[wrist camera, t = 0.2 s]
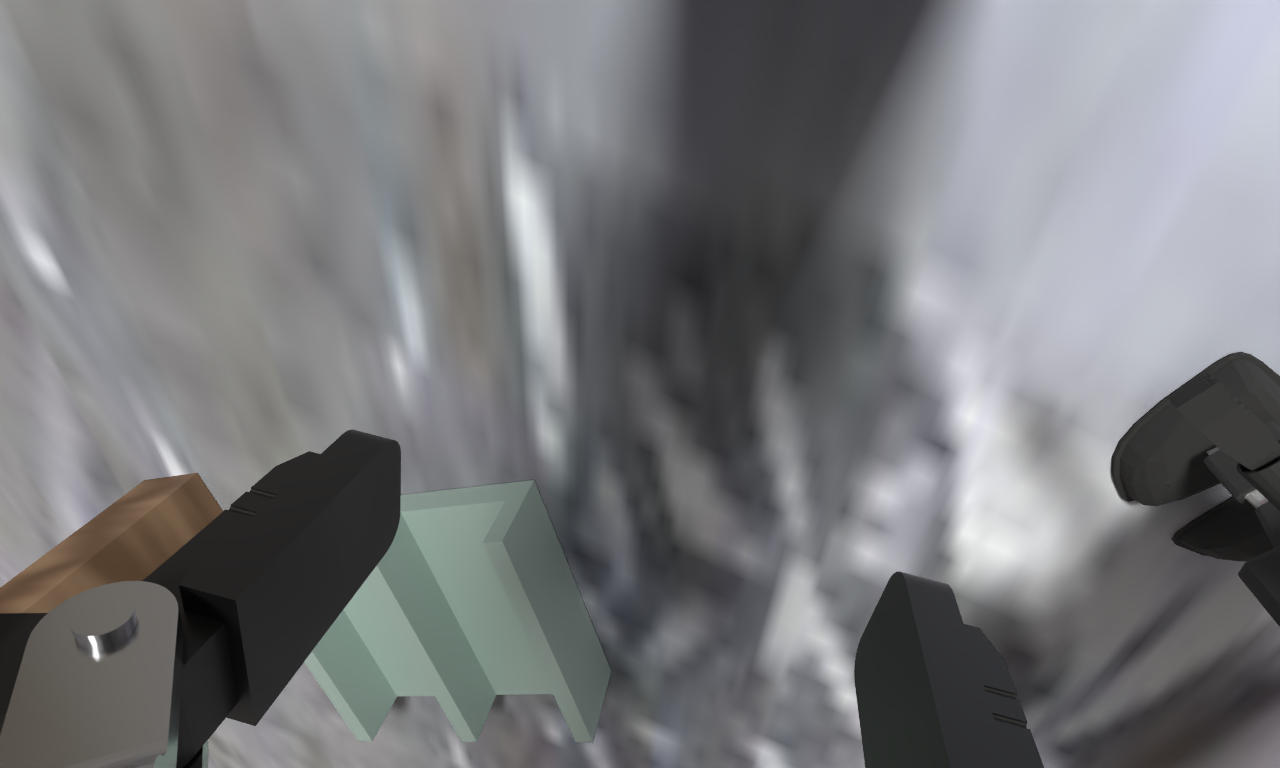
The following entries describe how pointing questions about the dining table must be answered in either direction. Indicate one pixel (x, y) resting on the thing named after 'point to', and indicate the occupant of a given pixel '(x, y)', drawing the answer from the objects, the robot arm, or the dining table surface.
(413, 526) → the dish rack
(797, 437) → the dining table surface
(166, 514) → the wooden block
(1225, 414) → the toy robot
